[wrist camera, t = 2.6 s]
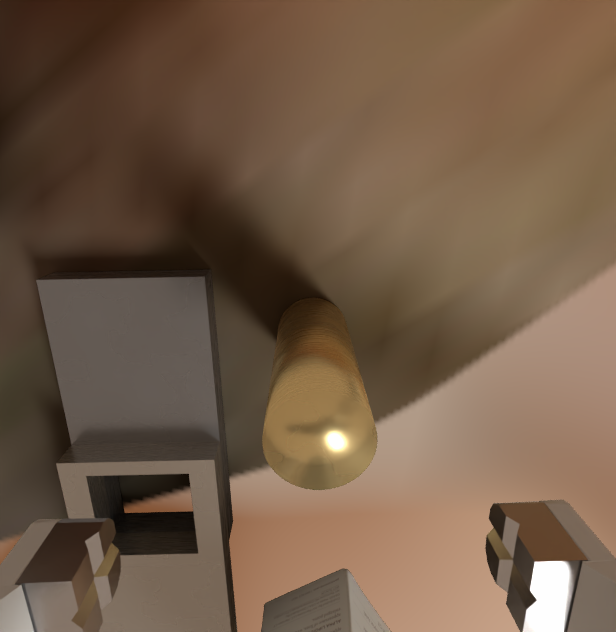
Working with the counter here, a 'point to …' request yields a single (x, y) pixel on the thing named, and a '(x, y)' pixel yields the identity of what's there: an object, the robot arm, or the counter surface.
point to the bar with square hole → (147, 436)
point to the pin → (317, 401)
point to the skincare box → (323, 608)
